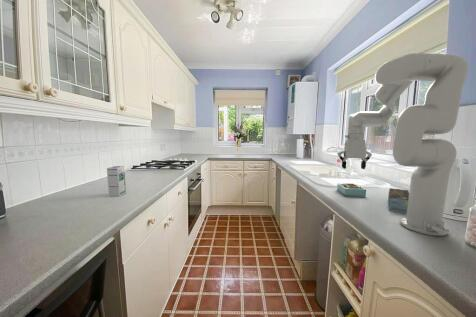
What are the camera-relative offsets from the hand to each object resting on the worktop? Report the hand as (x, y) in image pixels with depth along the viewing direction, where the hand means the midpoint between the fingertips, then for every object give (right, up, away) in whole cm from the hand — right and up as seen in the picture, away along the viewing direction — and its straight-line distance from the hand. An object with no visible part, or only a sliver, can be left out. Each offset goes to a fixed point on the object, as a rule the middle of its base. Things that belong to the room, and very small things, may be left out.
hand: (353, 168), depth 114 cm
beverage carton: (+12, -17, -17) cm, 27 cm away
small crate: (0, -13, +2) cm, 13 cm away
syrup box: (-125, -13, -7) cm, 126 cm away
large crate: (0, -14, +2) cm, 14 cm away
